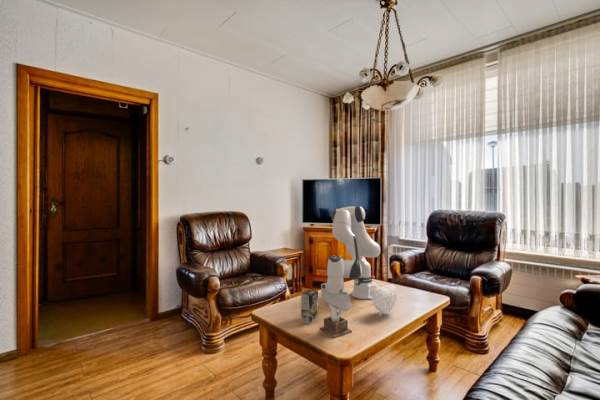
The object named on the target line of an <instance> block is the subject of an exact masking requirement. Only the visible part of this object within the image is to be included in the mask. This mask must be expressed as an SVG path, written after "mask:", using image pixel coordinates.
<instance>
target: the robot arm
mask: <svg viewBox="0 0 600 400" xmlns="http://www.w3.org/2000/svg"><path fill="white" fill-rule="evenodd" d="M330 215H331V216H330V217H331V221H332V231H331V232H332V236H333V237H334V239H336V240H337V241H339V242H341V243H344V244H345V249H346V252H347V253H348V254H349V256H350V257H351V258H352V259H343V257H342V256H340V255H331V256H330V257H328V260H327V264H326V275H327V280H326V282H324V283H321V284H320V288H321V291H320V296H321V297H320V298H321V300H322V301H324V302H326V303H327V305H328V307H329V312H330V313H331V305H333V306H335V307H337V308H338V310H339V311H338V312H337V315H338V316H340V317H342V312H343V311H344V312H349V311H350V310H351V307H352V306H351V297H350V294H349V293H348V292H347V291H345V280H344V279H352V280H354V282H353V287H352V288H353V289H352V294H351V296H353V297H354V298H357V299H362V300H371V301H372V292H373V290H374V289H375V288H376V287H380V286H379V285H378V284H377V283H376V282H374V280H375V278H376V276H375V275H371V274H372V273H371V272H372V269H371V268H372V267H371V263H369V262H368V261H367V259H366V257H367V258H370V259H371V258H377V257H378V256H380V254H381V246H380V245H379V243H378V242H376V241H374V239H372V238H371V236H370V235H369V233H368V231H367V230H366V226H365V223H364V221H365V220H366V211H365V209H364V207H363V206H361V205H356V206H346V207H345V206H344V207H341V208H335V209H333V210H332V212H331V214H330ZM376 292H377V291H376ZM378 292H379V291H378ZM376 295H378V294H376ZM381 295H382V294H381ZM374 299H375V298H374Z"/></svg>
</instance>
